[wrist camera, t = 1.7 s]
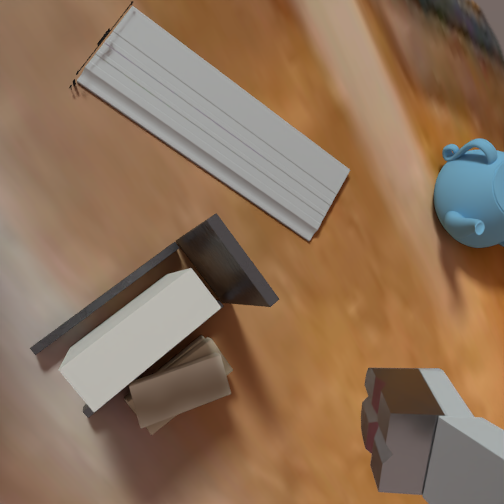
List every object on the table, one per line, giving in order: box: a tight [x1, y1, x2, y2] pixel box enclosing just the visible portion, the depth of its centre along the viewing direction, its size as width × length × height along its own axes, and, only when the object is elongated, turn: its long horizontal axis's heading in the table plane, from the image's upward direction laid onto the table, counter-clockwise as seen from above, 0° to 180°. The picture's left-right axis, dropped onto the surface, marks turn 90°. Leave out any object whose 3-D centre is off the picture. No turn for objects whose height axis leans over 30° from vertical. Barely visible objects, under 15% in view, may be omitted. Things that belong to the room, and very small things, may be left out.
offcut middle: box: [127, 337, 233, 435], centre depth 46 cm, size 4×10×2 cm, turn 125°
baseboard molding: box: [69, 1, 350, 241], centre depth 52 cm, size 31×3×12 cm
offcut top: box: [128, 352, 231, 428], centre depth 44 cm, size 4×9×2 cm, turn 107°
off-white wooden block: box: [59, 268, 221, 412], centre depth 41 cm, size 4×12×14 cm, turn 128°
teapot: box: [434, 139, 504, 248], centre depth 58 cm, size 15×15×10 cm
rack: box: [30, 213, 279, 418], centre depth 41 cm, size 9×18×15 cm, turn 129°
